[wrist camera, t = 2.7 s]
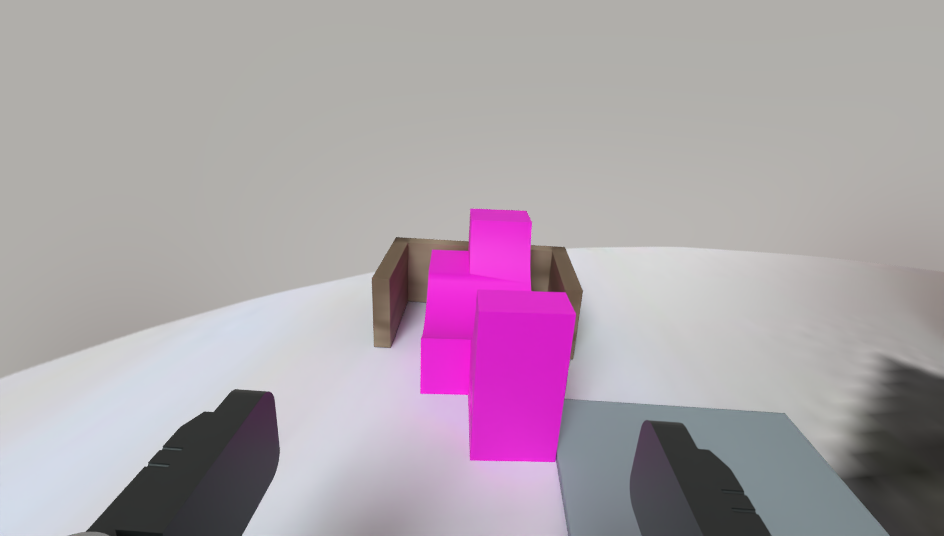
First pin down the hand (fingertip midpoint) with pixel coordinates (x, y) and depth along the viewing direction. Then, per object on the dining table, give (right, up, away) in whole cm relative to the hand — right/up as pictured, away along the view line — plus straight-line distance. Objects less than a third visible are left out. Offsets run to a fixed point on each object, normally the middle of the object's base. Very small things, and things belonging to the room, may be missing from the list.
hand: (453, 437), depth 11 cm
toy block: (+1, -2, +18) cm, 18 cm away
